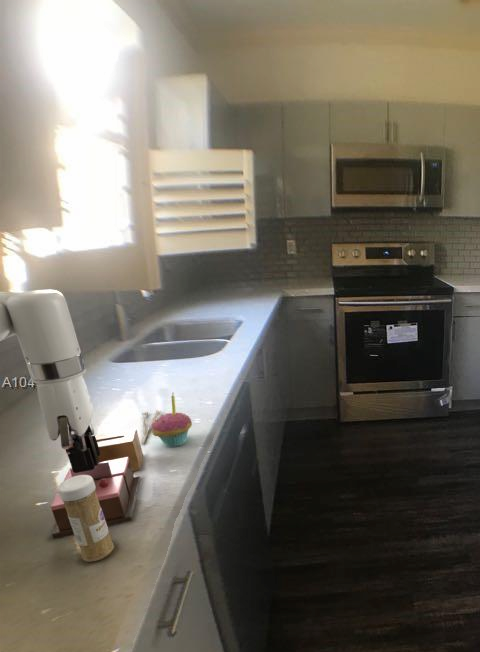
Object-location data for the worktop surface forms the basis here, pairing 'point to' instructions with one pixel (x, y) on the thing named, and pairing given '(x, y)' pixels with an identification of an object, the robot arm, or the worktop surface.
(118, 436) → the knife block
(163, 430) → the cupcake
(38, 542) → the worktop surface
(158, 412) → the tweezers
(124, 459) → the pink double-door cabinet
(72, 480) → the sprinkles bottle
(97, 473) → the knife
